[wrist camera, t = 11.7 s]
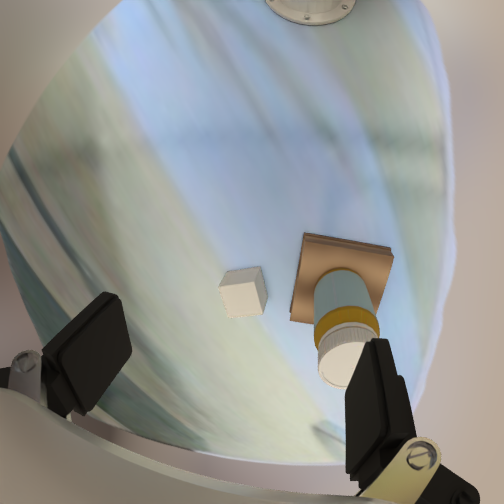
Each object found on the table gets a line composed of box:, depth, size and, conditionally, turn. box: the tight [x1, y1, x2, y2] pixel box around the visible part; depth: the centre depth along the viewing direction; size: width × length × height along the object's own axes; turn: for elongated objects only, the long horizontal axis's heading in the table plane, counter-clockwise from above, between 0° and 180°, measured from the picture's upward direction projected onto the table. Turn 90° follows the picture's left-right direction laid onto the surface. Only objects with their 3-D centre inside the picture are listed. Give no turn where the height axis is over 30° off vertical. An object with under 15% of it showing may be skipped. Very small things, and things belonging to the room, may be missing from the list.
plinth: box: [290, 233, 394, 324], centre depth 39 cm, size 12×12×3 cm
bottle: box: [314, 268, 380, 389], centre depth 31 cm, size 7×7×15 cm
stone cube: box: [218, 267, 268, 318], centre depth 41 cm, size 5×5×5 cm
